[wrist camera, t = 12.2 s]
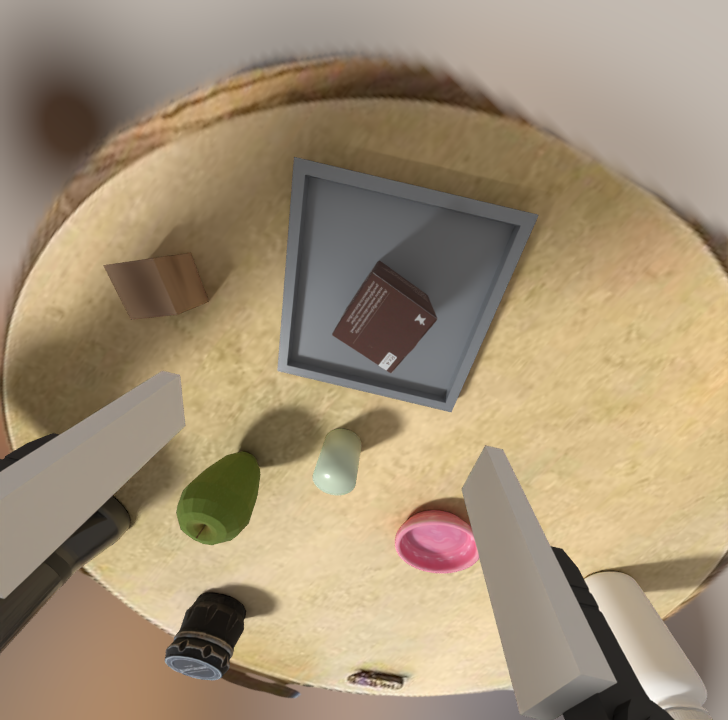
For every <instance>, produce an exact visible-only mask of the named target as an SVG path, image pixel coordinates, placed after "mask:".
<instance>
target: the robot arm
mask: <svg viewBox="0 0 728 720" xmlns="http://www.w3.org/2000/svg"><path fill="white" fill-rule="evenodd" d="M184 426H185V417H184V408H183V398H182V388H181V379H180V375H178V374H174V373H170V372H165V371H161V372H159V373H158V374H156V375H155V376H153V377H151V378H150V379H148V380H147V381H145V382H143V383H142V384H140V385H139V386H137V387H135V388H134V389H132V390H131V391H129V392H127V393H126V394H124V395H123V396H121V397H119V398H118V399H116V400H115V401H113V402H111V403H110V404H108V405H107V406H105V407H103V408H102V409H100V410H99V411H97V412H95V413H94V414H92V415H91V416H89V417H87V418H86V419H84V420H83V421H81V422H79V423H78V424H76V425H75V426H73V427H71V428H70V429H68V430H67V431H65V432H63V433H62V434H60V435H59V434H55V433H52V434H50V435H47V436H44V437H42V438H39V439H37V440H34V441H32V442H29V443H27V444H25V445H24V446H22V447H20V448H18V449H17V450H15V451H13V452H12V453H10V454H8V455H7V456H5V458H4V459H0V653H1V652H2V651H3V650H4V649H5V648H6V647H7V646H8V645H9V643H10V642H11V641H12V640H13V639H14V638H15V637H16V636H17V635H18V634H19V633H20V631H21V630H22V629H23V628H24V627H25V626H26V625H27V624H28V623H29V622H30V620H31V619H32V618H33V617H34V616H35V615H36V614H37V613H38V612H39V611H40V609H41V608H42V607H43V606H44V605H45V604H46V603H47V602H48V601H49V600H50V599H51V598H52V596H53V595H54V594H55V593H56V592H57V591H58V590H59V589H60V588H61V587H62V586H63V584H64V583H65V582H66V581H67V580H68V579H69V578H70V577H71V576H72V575H73V574H74V573H75V572H76V571H77V570H78V569H79V568H81V567H82V566H83V565H85V564H86V563H88V562H89V561H90V560H92V559H93V558H95V557H96V556H97V555H99V554H100V553H101V552H103V551H104V550H105V549H107V548H108V547H109V546H111V545H113V544H114V543H115V542H117V541H118V540H119V539H120V537H121V536H122V535H123V534H124V533H125V532H126V531H127V530H128V528H129V526H130V518H129V515H128V513H127V512H126V510H125V509H124V507H123V506H122V505H121V504H120V503H119V502H118V501H117V500H116V499H115V498H113V497H112V495H113V494H115V493H116V492H117V491H118V490H119V489H120V488H121V487H122V486H123V485H124V484H125V483H126V482H127V481H128V480H129V479H130V478H131V477H132V476H133V475H134V474H135V473H136V472H137V471H139V470H140V469H141V468H142V467H143V466H144V465H145V464H146V463H147V462H148V461H149V460H150V459H151V458H152V457H153V456H154V455H155V454H156V453H157V452H158V451H159V450H160V449H161V448H163V447H164V446H165V445H166V444H167V443H168V442H169V441H170V440H171V439H172V438H173V437H174V436H175V435H176V434H177V433H178V432H179V431H180V430H181V429H182V428H183V427H184ZM462 493H463V497H464V500H465V504H466V508H467V512H468V516H469V520H470V524H471V527H472V531H473V535H474V539H475V543H476V547H477V551H478V554H479V558H480V562H481V566H482V570H483V574H484V578H485V581H486V585H487V589H488V593H489V597H490V601H491V605H492V608H493V612H494V616H495V620H496V624H497V628H498V632H499V635H500V639H501V643H502V647H503V651H504V655H505V659H506V662H507V666H508V670H509V674H510V678H511V682H512V686H513V689H514V693H515V697H516V701H517V705H518V709H519V713H520V715H522V716H526V717H531V718H535V719H540V720H554V719H556V718H557V717H559V716H561V715H562V714H563V716H564V719H565V720H674V719H673V718H672V716H671V715H670V714H669V713H668V712H667V711H665V710H664V709H663V708H661V707H660V706H659V705H657V704H656V703H655V702H653V701H652V700H650V698H649V697H648V695H647V694H646V692H645V690H644V689H643V687H642V685H641V684H640V682H639V680H638V678H637V676H636V675H635V673H634V671H633V669H632V667H631V665H630V663H629V662H628V660H627V658H626V656H625V654H624V652H623V650H622V649H621V647H620V645H619V643H618V641H617V639H616V638H615V636H614V634H613V632H612V630H611V628H610V626H609V625H608V623H607V621H606V619H605V617H604V615H603V613H602V612H601V611H599V606H598V604H597V602H596V600H595V599H594V597H593V595H592V593H590V592H589V588H588V586H587V584H586V582H585V580H584V578H583V576H582V575H581V573H580V571H579V569H578V567H577V566H576V565H575V564H574V563H573V561H572V560H571V559H570V558H569V557H568V555H567V554H566V553H565V552H564V550H563V549H560V548H556V547H552V546H550V544H549V542H548V540H547V538H546V536H545V534H544V532H543V530H542V528H541V526H540V524H539V522H538V520H537V518H536V516H535V514H534V512H533V510H532V508H531V506H530V504H529V502H528V500H527V498H526V495H525V493H524V491H523V489H522V487H521V485H520V483H519V481H518V479H517V477H516V475H515V473H514V471H513V469H512V467H511V465H510V463H509V461H508V459H507V457H506V455H505V453H504V451H503V449H499V448H494V447H490V446H486V445H485V447H484V449H483V451H482V452H481V454H480V456H479V458H478V460H477V462H476V463H475V465H474V467H473V469H472V471H471V473H470V474H469V476H468V478H467V480H466V482H465V484H464V486H463V487H462Z"/></svg>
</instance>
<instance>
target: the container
mask: <svg viewBox="0 0 728 720" xmlns="http://www.w3.org/2000/svg"><path fill="white" fill-rule="evenodd" d="M245 615H246V610H245V609H244V606H243V604H241V603H240V602H238V601H237V600H235V599H234V598H232V597H228V596H225V595H221V594H215V593H205V594H202V595H200V596H199V597H198V598H197V600H196V601H195V603H194V604H193V605H192V606H191V607H190V608H189V609H188V610H187V611H186V613H185V616H184V619H183V622H182V625H181V628H180V631H179V632H178V633H177V634H176V636H175V637H174V642H173V643H172V644H171V645H170V646H169V647H168V648H167V649H166V657H165V663H166V664H167V665H168V666H169V667H170V668H172V669H173V670H175V671H177V672H180V673H182V674H184V675H187V676H190V677H193V678H197V679H204V680H217V679H220V678H221V677H222V676H223V675H224V674H225V673H226V672H227V671H228V669H229V667H230V663H229V659H230V658H231V657H232V655H233V651H234V647H235V645H236V643H237V641H238V639H239V638H240V636H241V634H242V632H243V630H244V619H245Z"/></svg>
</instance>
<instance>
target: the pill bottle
mask: <svg viewBox="0 0 728 720" xmlns="http://www.w3.org/2000/svg"><path fill="white" fill-rule="evenodd" d="M584 580H585V582H586V584H587V586H588V588H589V592H590V593H592V595H593V597H594V599H595V600H596V602H597V604H598V606H599V611H601V612H602V613H603V615H604V617H605V619H606V621H607V623H608V625H609V626H610V628H611V630H612V632H613V634H614V636H615V638H616V639H617V641H618V643H619V645H620V647H621V649H622V650H623V652H624V654H625V656H626V658H627V660H628V662H629V663H630V665H631V667H632V669H633V671H634V673H635V675H636V676H637V678H638V680H639V682H640V684H641V685H642V687H643V689H644V690H645V692H646V694H647V695H648V697H649V698H650V700H652V701H653V702H655V703H656V704H657V705H659V706H660V707H661V708H663V709H664V710H665V711H667V712H668V713H669V714H670V715H671V716H672V718H673V719H674V720H713V719H712V718H711V717H710V716H709V712H708V711H707V710H706V709H705V708H703V707H702V706H701V705H703V704H704V703H705V701H706V699H707V691H706V688H705V686H704V684H703V681H702V680H701V678H700V677H699V675H698V673H697V672H696V670H695V669H694V667H693V666H692V664H691V663H690V661H689V660H688V658H687V657H686V655H685V654H684V652H683V651H682V649H681V648H680V646H679V645H678V643H677V642H676V640H675V639H674V637H673V636H672V634H671V633H670V631H669V630H668V628H667V627H666V625H665V624H664V622H663V621H662V619H661V618H660V616H659V615H658V613H657V612H656V610H655V609H654V607H653V605H652V604H651V602H650V601H649V599H648V598H647V596H646V595H645V593H644V592H643V590H642V589H641V587H640V586H639V585H638V583H637V582H636V581H635V580H634V579H633V578H632V577H631V576H629V575H627V574H624V573H620V572H600V573H596V574H593V575H590V576H588V577H587V578H585V579H584Z"/></svg>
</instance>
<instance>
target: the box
mask: <svg viewBox="0 0 728 720" xmlns="http://www.w3.org/2000/svg"><path fill="white" fill-rule="evenodd" d="M436 321H437V316H436V313H435V311H434V309H433V307H432V304H431V302H430V299H429V297H428V295H427V294H426V293H424V292H423V291H421V290H420V289H419V288H417V287H416V286H415V285H413V284H412V283H410V282H409V281H408V280H406V279H405V278H403V277H402V276H401V275H399V274H398V273H396V272H395V271H394V270H392V269H391V268H390V267H388V266H387V265H385V264H384V263H382V262H381V261H378V262H377V263H376V265H375V266H374V267H373V269H372V271H371V272H370V273H369V275H368V276H367V278H366V279H365V281H364V282H363V283H362V285H361V287H360V288H359V290H358V291H357V293H356V294H355V296H354V297H353V299H352V301H351V302H350V304H349V305H348V307H347V308H346V310H345V312H344V314H343V315H342V317H341V319H340V321H339V323H338V324H337V326H336V328H335V330H334V331H333V333H332V336H334V337H335V338H337V339H338V340H340V341H341V342H343V343H345V344H346V345H348V346H349V347H351V348H352V349H354V350H355V351H357V352H359V353H360V354H362V355H363V356H365V357H366V358H368V359H369V360H371V361H372V362H374V363H375V364H377V365H378V366H380V367H381V368H383V369H385V370H386V371H388V372H389V373H393V372H394V370H395V369H396V368H397V367H398V366H399V364H400V363H401V362H402V361H403V360H404V358H405V357H406V356H407V355H408V354H409V353H410V352H411V351H412V350H413V349H414V348H415V347H416V345H417V344H418V342H419V341H420V340H421V338H422V337H423V336H424V335H425V334H426V333H427V331H428V330H429V329H430V328H431V327H432V326H433V324H434V323H435V322H436Z"/></svg>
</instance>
